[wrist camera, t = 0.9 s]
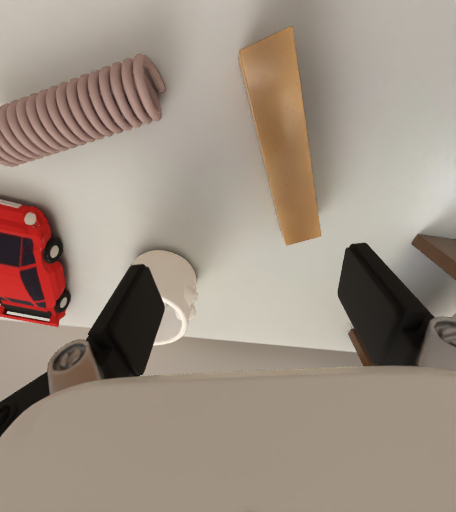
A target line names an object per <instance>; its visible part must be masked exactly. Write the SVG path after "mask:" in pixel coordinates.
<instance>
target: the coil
mask: <svg viewBox="0 0 456 512" xmlns="http://www.w3.org/2000/svg"><path fill="white" fill-rule="evenodd" d="M143 67H144V68H145V69H146V71H147V72H148V73H149V75H150V76H151V78H152V80H153V82H154V84H155V86H156V88H157V90H158V93H161V92H164V91H165V90H166V88H165V86H164V84H163V81H162V79H161V77H160V75H159V73H158V71H157V70H156V68H155V66H154V65H153V63H152V62H151V61H150V59H149V58H148V57H146V56H145V55H143V54H137V55H136V56H135V58H134V60H133V59H131V58H127V59H125V60H124V61H123V63H120V62H117V63H114V64H113V65H112V67H109V66H107V67H103V68H102V69H101V71H98V70H96V71H92V72H91V73H90V75H89V74H85V75H82V76H81V77H80V78H74V79H71V80H70V81H69V82H63V83H61V84H60V85H59V86H52V87H50V88H49V89H45V90H42V91H40V92H39V93H34V94H31V95H30V96H29V97H23V98H21V99H20V100H15V101H12V102H11V103H9V104H4V105H2V106H1V107H0V164H2V165H5V166H10V167H13V166H17V165H20V164H24V163H27V162H28V161H33V160H35V159H39V158H43V157H44V156H49V155H51V154H53V153H58V152H60V151H64V150H68V149H69V148H74V147H77V146H78V145H84V144H86V143H87V142H93V141H95V140H96V139H103V138H104V137H105V136H112V135H113V134H114V133H121V132H122V131H123V129H124V130H131V128H132V127H133V126H134V127H140V126H141V125H142V122H143V123H144V124H150V123H151V122H152V119H153V120H155V121H159V120H160V119H161V118H162V110H161V106H160V102H159V99H158V97H157V94H156V92H155V89H154V87H153V85H152V83H151V81H150V79H149V77H148V76H147V74H146V72H145V71H144V69H143ZM132 71H133V72H132ZM99 92H100V93H101V94H102V96H101V95H100V93H99ZM111 92H112V93H113V94H114V96H115V99H116V100H115V99H114V97H113V95H112V93H111ZM124 93H125V95H126V97H127V98H128V100H129V103H130V105H131V107H132V110H133V113H132V111H131V109H130V107H129V105H128V102H127V100H126V98H125V95H124ZM89 95H90V96H89ZM137 96H138V97H137ZM102 97H103V98H102ZM138 98H139V99H138ZM139 100H140V102H139ZM140 103H141V104H140ZM120 110H121V111H120ZM121 112H122V113H121ZM122 114H123V115H124V118H123V116H122ZM61 116H62V117H61ZM62 118H63V119H64V120H65V122H66V123H65V122H64V120H63V119H62ZM114 121H115V123H114ZM66 124H67V125H68V127H69V128H68V127H67V125H66ZM61 133H62V134H61Z"/></svg>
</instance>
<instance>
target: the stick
mask: <svg viewBox="0 0 456 512" xmlns="http://www.w3.org/2000/svg"><path fill="white" fill-rule="evenodd" d="M238 60H239V64H240V68H241V72H242V76H243V80H244V84H245V88H246V92H247V96H248V101H249V105H250V109H251V113H252V117H253V121H254V125H255V129H256V133H257V137H258V141H259V145H260V149H261V153H262V157H263V161H264V165H265V169H266V173H267V177H268V182H269V186H270V190H271V194H272V198H273V202H274V206H275V210H276V214H277V218H278V222H279V226H280V230H281V233H282V236H283V239H284V242H285V244H286V245H290V244H294V243H298V242H301V241H305V240H309V239H313V238H316V237H320V236H321V231H320V224H319V216H318V209H317V202H316V194H315V187H314V180H313V172H312V165H311V157H310V150H309V143H308V135H307V128H306V121H305V113H304V106H303V99H302V91H301V84H300V77H299V69H298V62H297V55H296V47H295V40H294V33H293V26H290V27H288V28H286V29H284V30H282V31H279V32H277V33H275V34H273V35H271V36H269V37H267V38H265V39H262V40H260V41H258V42H256V43H254V44H252V45H250V46H247V47H245V48H243V49H241V50H239V56H238Z"/></svg>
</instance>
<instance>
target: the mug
mask: <svg viewBox="0 0 456 512" xmlns="http://www.w3.org/2000/svg"><path fill="white" fill-rule="evenodd" d="M137 264H144V265H145V266H146V267H149V269H150V271H151V273H152V276H153V278H154V281H155V283H156V286H157V288H158V290H159V293H160V295H161V298H162V300H163V302H164V305H165V311H164V314H163V317H162V320H161V323H160V326H159V329H158V332H157V335H156V338H155V341H154V344H153V345H162V344H168V343H171V342H174V341H176V340H178V339H179V338H181V337H182V336H183V335H184V333H185V332H186V329H187V326H188V322H189V320H191V319H192V318H193V316H194V315H195V314H196V311H195V307H194V305H193V304H194V303H193V301H195V300H197V298H198V293H197V292H196V274H195V272H194V270H193V268H192V266H191V265H190V264H189V263H188V262H187V261H186V260H185V259H184V258H182V257H181V256H179V255H177V254H175V253H172V252H169V251H163V250H154V251H149V252H146V253H143V254H141V255H140V256H138V257H137V258H136V259H135V260H134V262H133V263H132V264H131V265H137ZM122 279H123V278H122ZM117 287H118V286H117ZM115 290H116V289H115ZM112 295H113V294H112ZM110 298H111V297H110Z"/></svg>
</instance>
